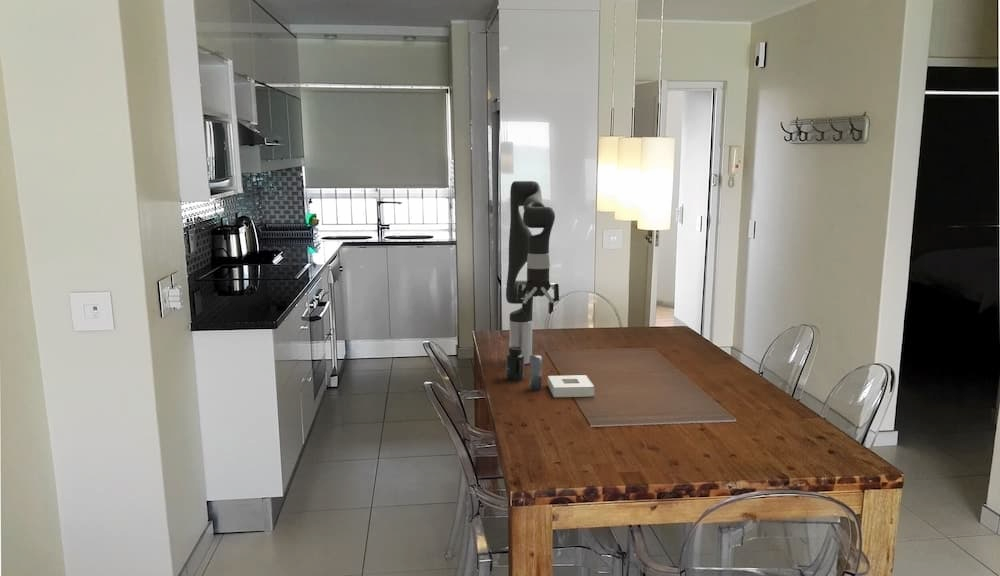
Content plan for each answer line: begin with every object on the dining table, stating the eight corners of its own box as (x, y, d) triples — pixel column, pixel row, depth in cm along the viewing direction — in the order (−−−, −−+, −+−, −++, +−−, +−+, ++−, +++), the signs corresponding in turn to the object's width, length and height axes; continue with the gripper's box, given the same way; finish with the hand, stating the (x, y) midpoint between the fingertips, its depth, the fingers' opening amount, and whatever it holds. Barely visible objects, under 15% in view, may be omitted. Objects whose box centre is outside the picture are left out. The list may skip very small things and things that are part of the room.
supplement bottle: (502, 379, 270) (502, 348, 268) (510, 375, 276) (511, 344, 274) (519, 382, 267) (519, 350, 265) (527, 377, 273) (527, 346, 271)
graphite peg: (528, 387, 262) (529, 354, 260) (540, 386, 262) (541, 354, 260) (530, 390, 257) (530, 358, 255) (542, 390, 258) (543, 357, 256)
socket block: (547, 385, 264) (547, 375, 263) (585, 384, 265) (586, 375, 265) (554, 397, 250) (554, 387, 250) (594, 396, 251) (594, 386, 251)
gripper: (556, 264, 249) (555, 311, 252) (515, 265, 247) (515, 312, 250) (561, 267, 242) (560, 315, 244) (518, 268, 240) (518, 316, 243)
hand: (537, 313), depth 247 cm, fingers open, 8 cm apart
